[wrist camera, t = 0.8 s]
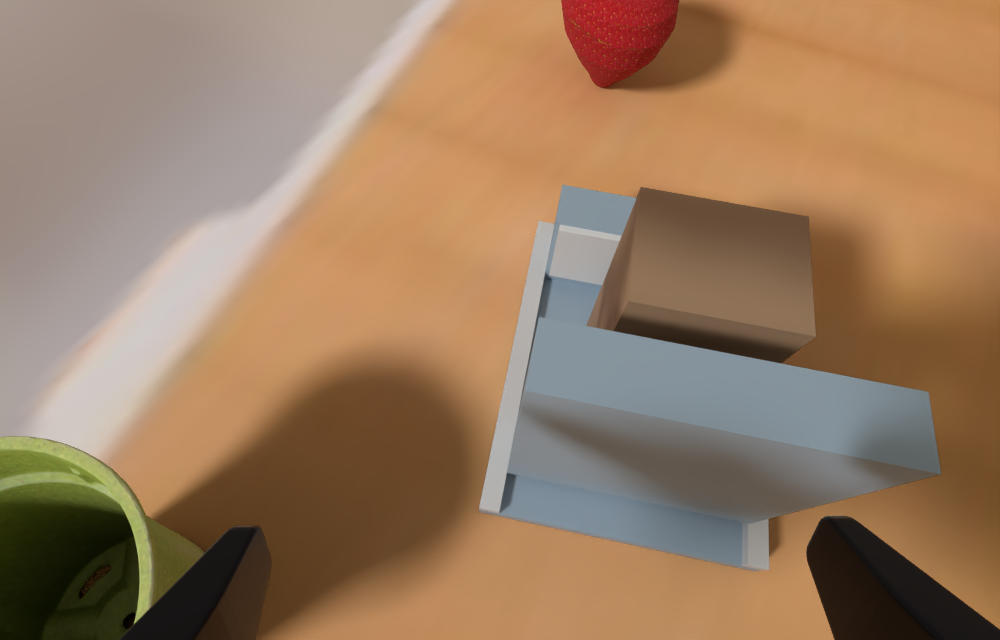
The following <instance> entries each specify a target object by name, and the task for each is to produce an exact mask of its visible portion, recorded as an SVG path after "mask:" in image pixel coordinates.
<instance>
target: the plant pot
mask: <svg viewBox="0 0 1000 640" xmlns="http://www.w3.org/2000/svg"><path fill="white" fill-rule="evenodd" d="M203 554H204V552H203V551H202V549H200V548H199V547H198V546H197V545H196V544H194V543H193V542H191V541H189V540H188V539H186V538H184V537H183V536H181V535H179V534H178V533H176V532H174V531H172V530H170V529H168V528H167V527H165V526H163V525H161V524H160V523H158V522H156V521H155V520H153V519H151V518H150V517H148V516H146V514H145V512H144V510H143V508H142V506H141V504H140V502H139V500H138V498H137V497H136V495H135V494H134V492H133V491H132V489H131V488H130V487H129V485H128V484H127V483H126V482H125V481H124V480H123V479H122V478H121V477H120V476H119V475H118V474H117V473H116V472H115V471H114V470H113V469H111V468H110V467H109V466H107V465H106V464H104V463H103V462H102V461H100V460H98V459H97V458H95V457H93V456H91V455H89V454H88V453H85V452H83V451H81V450H79V449H77V448H74V447H72V446H69V445H67V444H64V443H60V442H57V441H53V440H48V439H43V438H36V437H25V436H8V437H0V640H119V639H120V638H121V637H122V636H123V635H124V634H125V633H126V632H127V631H128V630H129V629H126V628H124V626H123V621H124V619H125V618H126V617H127V616H128V615H130V614H131V613H134V614H136V617H135V621H134V624H135V623H136V622H137V621H138V620H139V619H140V618H141V617H142V616H143V614H144V613H145V612H146V611H147V610H148V609H149V608H150V607H151V606H152V605H153V604H154V603H155V602H156V601H157V600H158V599H159V598H160V597H161V596H162V595H163V594H164V593H165V592H166V591H167V590H168V589H169V588H170V587H171V586H172V585H173V584H174V583H175V582H176V581H177V580H178V579H179V578H180V577H181V576H182V575H183V574H184V573H185V572H186V571H187V570H188V569H189V568H190V567H191V566H192V565H193V564H194V563H195V562H196V561H197V560H198V559H199V558H200V557H201V556H202V555H203ZM106 565H109V566H111V569H110V571H108V572H107V573H106V574H105V575H104V576H103V577H102V578H101V579H99V580H97V581H96V582H95V583H94V584H93V585H92V587H91V588H89V590H88V591H87V592H86V594H85V595H84V596H83V597H82V598H80V597H79V595H80V593H79V592H80V589H81V588H82V587H83V585H84V584H85V583H86V582H87V580H88V579H89V578H90V577H91V576H92V575H93V574H94V573H95V572H96V571H97V570H98V569H100V568H101V567H102V566H106Z"/></svg>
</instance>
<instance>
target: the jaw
mask: <svg viewBox="0 0 1000 640" xmlns="http://www.w3.org/2000/svg"><path fill="white" fill-rule="evenodd" d="M507 473H510V474H515V475H519V476H524V477H529V478H534V479H538V480H543V481H548V482H553V483H557V484H562V485H567V486H572V487H576V488H581V489H586V490H591V491H595V492H600V493H605V494H610V495H614V496H619V497H624V498H629V499H633V500H638V501H643V502H648V503H652V504H657V505H662V506H667V507H671V508H676V509H681V510H686V511H690V512H695V513H700V514H705V515H709V516H714V517H719V518H724V519H728V520H733V521H738V522H743V523H747V524H750V523H754V522H758V521H762V520H766V519H770V518H774V517H777V516H781V515H785V514H789V513H793V512H797V511H801V510H805V509H809V508H812V507H816V506H820V505H824V504H828V503H832V502H836V501H840V500H843V499H847V498H851V497H855V496H859V495H863V494H867V493H871V492H874V491H878V490H882V489H886V488H890V487H894V486H898V485H902V484H905V483H909V482H913V481H917V480H921V479H925V478H929V477H933V476H936V475H940V474H941V470H940V463H939V457H938V450H937V444H936V438H935V431H934V425H933V418H932V412H931V405H930V399H929V392H926V391H921V390H916V389H911V388H905V387H900V386H895V385H890V384H885V383H879V382H874V381H869V380H864V379H859V378H854V377H848V376H843V375H838V374H833V373H828V372H822V371H817V370H812V369H807V368H802V367H796V366H791V365H786V364H781V363H776V362H771V361H765V360H760V359H755V358H750V357H745V356H739V355H734V354H729V353H724V352H719V351H713V350H708V349H703V348H698V347H693V346H688V345H682V344H677V343H672V342H667V341H662V340H656V339H651V338H646V337H641V336H636V335H630V334H625V333H620V332H615V331H610V330H604V329H599V328H594V327H589V326H584V325H579V324H573V323H568V322H563V321H558V320H553V319H547V318H542V317H539V319H538V324H537V329H536V334H535V338H534V343H533V348H532V352H531V357H530V362H529V366H528V371H527V376H526V381H525V385H524V390H523V395H522V399H521V404H520V409H519V413H518V418H517V423H516V428H515V433H514V438H513V444H512V449H511V454H510V459H509V465H508V470H507Z"/></svg>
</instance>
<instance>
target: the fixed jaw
mask: <svg viewBox="0 0 1000 640" xmlns="http://www.w3.org/2000/svg"><path fill="white" fill-rule="evenodd" d="M635 201H636V198H634V197H628V196H623V195H617V194H611V193H606V192H600V191H594V190H589V189H583V188H578V187H572V186H566V185H562V190H561V195H560V200H559V205H558V210H557V215H556V220H555V225H554V230H553V235H552V240H551V245H550V250H549V255H548V260H547V266H546V271H545V276H544V278H547V279H553V280H558V281H563V282H569V283H574V284H579V285H584V286H590V287H595V288H600V289H601V287H602V284H603V282H604V279H605V277H606V274H607V272H608V269H609V267H610V264H611V262H612V259H613V257H614V254H615V252H616V249H617V246H618V244H619V241H620V239H621V236H622V234H623V231H624V229H625V226H626V224H627V221H628V219H629V216H630V214H631V211H632V209H633V206H634V204H635Z"/></svg>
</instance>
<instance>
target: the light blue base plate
mask: <svg viewBox="0 0 1000 640" xmlns="http://www.w3.org/2000/svg"><path fill="white" fill-rule="evenodd" d="M553 229H554V224H553V223H547V222H542V221H539V222H538V227H537V232H536V236H535V241H534V246H533V251H532V256H531V260H530V265H529V270H528V275H527V280H526V285H525V289H524V294H523V299H522V304H521V309H520V313H519V318H518V323H517V328H516V333H515V338H514V342H513V347H512V352H511V357H510V362H509V366H508V371H507V376H506V381H505V386H504V391H503V395H502V400H501V405H500V410H499V415H498V419H497V424H496V429H495V434H494V439H493V444H492V448H491V453H490V458H489V463H488V468H487V472H486V477H485V482H484V487H483V492H482V496H481V501H480V506H479V512H482V513H486V514H491V515H496V516H500V517H505V518H510V519H514V520H519V521H524V522H528V523H533V524H538V525H542V526H547V527H552V528H556V529H561V530H565V531H570V532H575V533H579V534H584V535H589V536H593V537H598V538H603V539H607V540H612V541H617V542H621V543H626V544H631V545H635V546H640V547H644V548H649V549H654V550H658V551H663V552H668V553H672V554H677V555H682V556H686V557H691V558H696V559H700V560H705V561H709V562H714V563H719V564H723V565H728V566H733V567H737V568H742V569H747V570H751V571H761V570H769V528H768V519H766V520H762V521H758V522H754V523H750V524H747V523H743V522H738V521H733V520H728V519H724V518H719V517H714V516H709V515H705V514H700V513H695V512H690V511H686V510H681V509H676V508H671V507H667V506H662V505H657V504H652V503H648V502H643V501H638V500H633V499H629V498H624V497H619V496H614V495H610V494H605V493H600V492H595V491H591V490H586V489H581V488H576V487H572V486H567V485H562V484H557V483H553V482H548V481H543V480H538V479H534V478H529V477H524V476H519V475H515V474H510V473H507V470H508V465H509V459H510V454H511V449H512V444H513V438H514V433H515V428H516V423H517V418H518V413H519V409H520V404H521V399H522V395H523V390H524V385H525V381H526V376H527V371H528V366H529V362H530V357H531V352H532V348H533V343H534V338H535V334H536V329H537V324H538V319H539V317H542V318H547V319H553V320H558V321H563V322H568V323H573V324H579V325H584V326H586V325H587V322H588V320H589V317H590V315H591V312H592V310H593V307H594V305H595V302H596V300H597V297H598V294H599V292H600V288H595V287H590V286H584V285H579V284H574V283H569V282H563V281H558V280H553V279H547V278H544V276H545V271H546V266H547V260H548V255H549V250H550V245H551V240H552V235H553Z"/></svg>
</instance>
